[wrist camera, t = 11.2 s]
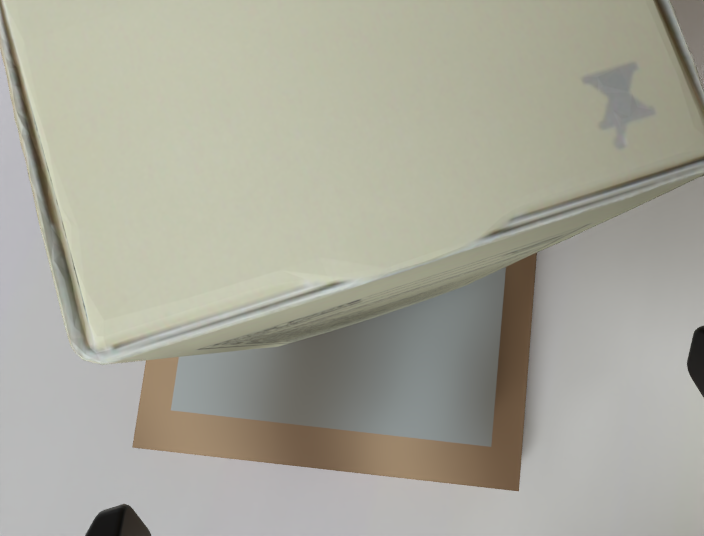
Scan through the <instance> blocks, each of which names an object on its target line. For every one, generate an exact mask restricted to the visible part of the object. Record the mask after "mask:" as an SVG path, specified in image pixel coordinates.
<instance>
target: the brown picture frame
mask: <svg viewBox="0 0 704 536" xmlns="http://www.w3.org/2000/svg"><path fill="white" fill-rule="evenodd" d="M536 256H537V252H536V253H534V254H532V255H530V256H528V257H526V258H523V259H521V260H519V261H517V262H515V263H513V264H511V265H509V266H506V267H504V268H502V269H500V270H498V271H496V272H494V273H491V274H489V275H487V276H485V277H483V278H481V279H478V280H476V281H474V282H472V283H470V284H468V285H466V286H463V287H461V288H458V289H455V290H453V291H450V292H447V293H444V294H442V295H439V296H436V297H434V298H431V299H428V300H425V301H422V302H419V303H416V304H413V305H410V306H407V307H404V308H402V309H399V310H396V311H393V312H390V313H387V314H384V315H381V316H377V317H374V318H371V319H368V320H365V321H362V322H359V323H356V324H353V325H349V326H346V327H343V328H340V329H336V330H333V331H330V332H327V333H324V334H320V335H317V336H313V337H310V338H306V339H303V340H299V341H296V342H292V343H289V344H285V345H282V346H279V347H270V348H259V349H249V350H240V351H231V352H222V353H212V354H201V355H192V356H182V357H173V358H163V359H154V360H146V364H145V371H144V377H143V384H142V390H141V396H140V403H139V409H138V415H137V422H136V428H135V434H134V441H133V448H142V449H151V450H160V451H169V452H177V453H186V454H195V455H204V456H213V457H221V458H230V459H239V460H248V461H257V462H266V463H274V464H283V465H292V466H301V467H310V468H319V469H327V470H336V471H345V472H354V473H363V474H371V475H380V476H389V477H398V478H407V479H416V480H424V481H433V482H442V483H451V484H460V485H469V486H477V487H486V488H495V489H504V490H513V491H519V481H520V468H521V455H522V441H523V428H524V415H525V401H526V388H527V375H528V362H529V348H530V335H531V322H532V309H533V295H534V282H535V269H536Z"/></svg>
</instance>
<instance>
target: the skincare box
mask: <svg viewBox="0 0 704 536" xmlns="http://www.w3.org/2000/svg"><path fill="white" fill-rule="evenodd" d="M0 50H1V54H2V58H3V62H4V66H5V70H6V75H7V80H8V85H9V91H10V97H11V101H12V105H13V111H14V118H15V122H16V125H17V128H18V132H19V137H20V143H21V146H22V150H23V153H24V156H25V160H26V165H27V170H28V175H29V179H30V183H31V187H32V192H33V196H34V201H35V206H36V211H37V215H38V220H39V224H40V229H41V233H42V237H43V241H44V245H45V248H46V252H47V256H48V260H49V264H50V268H51V272H52V276H53V280H54V284H55V288H56V292H57V296H58V300H59V304H60V309H61V313H62V317H63V321H64V325H65V328H66V332H67V335H68V339H69V342H70V345H71V347H72V349H73V350H74V351H75V353H76V354H77V355H78V356H79V357H80V358H82V359H83V360H85V361H89V362H93V363H97V364H101V365H104V364H114V363H124V362H133V361H143V360H154V359H163V358H173V357H182V356H192V355H201V354H212V353H222V352H231V351H240V350H249V349H259V348H270V347H279V346H282V345H285V344H289V343H292V342H296V341H299V340H303V339H306V338H310V337H313V336H317V335H320V334H324V333H327V332H330V331H333V330H336V329H340V328H343V327H346V326H349V325H353V324H356V323H359V322H362V321H365V320H368V319H371V318H374V317H377V316H381V315H384V314H387V313H390V312H393V311H396V310H399V309H402V308H404V307H407V306H410V305H413V304H416V303H419V302H422V301H425V300H428V299H431V298H434V297H436V296H439V295H442V294H444V293H447V292H450V291H453V290H455V289H458V288H461V287H463V286H466V285H468V284H470V283H472V282H474V281H476V280H478V279H481V278H483V277H485V276H487V275H489V274H491V273H494V272H496V271H498V270H500V269H502V268H504V267H506V266H509V265H511V264H513V263H515V262H517V261H519V260H521V259H523V258H526V257H528V256H530V255H532V254H534V253H536V252H539V251H541V250H543V249H545V248H548V247H550V246H552V245H555V244H557V243H559V242H561V241H564V240H566V239H568V238H570V237H573V236H575V235H577V234H579V233H581V232H583V231H585V230H587V229H589V228H591V227H594V226H596V225H598V224H600V223H602V222H605V221H607V220H609V219H611V218H613V217H616V216H618V215H620V214H622V213H624V212H626V211H628V210H631V209H633V208H635V207H637V206H639V205H641V204H643V203H645V202H648V201H650V200H652V199H654V198H656V197H658V196H660V195H662V194H664V193H667V192H669V191H671V190H673V189H675V188H677V187H679V186H681V185H683V184H686V183H688V182H690V181H692V180H694V179H696V178H698V177H701V176H703V175H704V91H703V88H702V85H701V81H700V78H699V75H698V71H697V69H696V66H695V63H694V60H693V57H692V55H691V53H690V51H689V49H688V47H687V44H686V42H685V39H684V36H683V34H682V31H681V28H680V26H679V23H678V20H677V17H676V15H675V12H674V9H673V6H672V4H671V2H670V0H0Z"/></svg>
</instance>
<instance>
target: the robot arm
mask: <svg viewBox="0 0 704 536" xmlns="http://www.w3.org/2000/svg"><path fill="white" fill-rule="evenodd" d="M687 367H688V371H689V374H690V376H691V378H692V380H693V381H694V383H695V384H696V386H697V388H698V389H699V391H700V392H701V394H702V396H703V397H704V326H701V327H699V328H697V329H696V330H695V332H694V334H693V338H692V343H691V347H690V352H689V356H688V360H687ZM85 536H151V534H150V531H149V530H148V528H147V527H146V526H145V524H144V523H143V522H142V521H141V519H140V518H139V517H138V515H137V514H136V513H135V511H134V510H133V509H132V508H131V507H130V506H129V505H126V504H122V505H119V506H116V507H112V508H109V509H106V510H103V511H101V512H100V513H99V514H98V515H97V516H96V517H95V519H94V521H93V522H92V524H91V526H90V528H89V530H88V531H87V533H86V535H85Z"/></svg>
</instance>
